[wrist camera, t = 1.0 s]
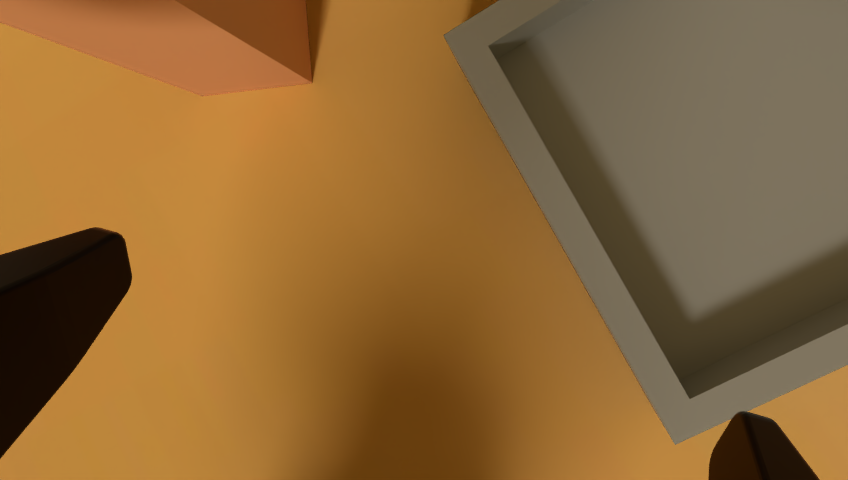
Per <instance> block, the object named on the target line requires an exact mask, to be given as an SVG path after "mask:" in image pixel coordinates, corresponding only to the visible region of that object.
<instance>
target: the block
mask: <svg viewBox="0 0 848 480" xmlns="http://www.w3.org/2000/svg"><path fill="white" fill-rule="evenodd" d="M0 23H3V24H6V25H9V26H11V27H14V28H17V29H20V30H22V31H25V32H28V33H31V34H33V35H36V36H39V37H41V38H44V39H47V40H50V41H52V42H55V43H58V44H61V45H63V46H66V47H69V48H72V49H74V50H77V51H80V52H83V53H85V54H88V55H91V56H94V57H96V58H99V59H102V60H105V61H107V62H110V63H113V64H116V65H118V66H121V67H124V68H126V69H129V70H132V71H135V72H137V73H140V74H143V75H146V76H148V77H151V78H154V79H157V80H159V81H162V82H165V83H168V84H170V85H173V86H176V87H179V88H181V89H184V90H187V91H190V92H192V93H195V94H198V95H201V96H208V95H216V94H224V93H233V92H241V91H249V90H257V89H266V88H274V87H282V86H291V85H299V84H307V83H312V73H311V60H310V48H309V35H308V22H307V9H306V0H0Z"/></svg>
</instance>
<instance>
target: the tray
mask: <svg viewBox="0 0 848 480" xmlns="http://www.w3.org/2000/svg"><path fill="white" fill-rule="evenodd" d="M444 37H445V39H446V41H447V43H448V45H449V47H450V49H451V51H452V53H453V55H454V57H455V59H456V60H457V62H458V64H459V66H460V68H461V69H462V71H463V73H464V75H465V76H466V78H467V80H468V82H469V83H470V85H471V87H472V89H473V91H474V92H475V94H476V96H477V98H478V99H479V101H480V103H481V105H482V106H483V108H484V110H485V112H486V113H487V115H488V117H489V119H490V121H491V122H492V124H493V126H494V128H495V129H496V131H497V133H498V135H499V136H500V138H501V140H502V142H503V144H504V145H505V147H506V149H507V151H508V152H509V154H510V156H511V158H512V159H513V161H514V163H515V165H516V167H517V168H518V170H519V172H520V174H521V175H522V177H523V179H524V181H525V182H526V184H527V186H528V188H529V189H530V191H531V193H532V195H533V197H534V198H535V200H536V202H537V204H538V205H539V207H540V209H541V211H542V212H543V214H544V216H545V218H546V220H547V221H548V223H549V225H550V227H551V228H552V230H553V232H554V234H555V235H556V237H557V239H558V241H559V242H560V244H561V246H562V248H563V250H564V251H565V253H566V255H567V257H568V258H569V260H570V262H571V264H572V265H573V267H574V269H575V271H576V273H577V274H578V276H579V278H580V280H581V281H582V283H583V285H584V287H585V288H586V290H587V292H588V294H589V296H590V297H591V299H592V301H593V303H594V304H595V306H596V308H597V310H598V311H599V313H600V315H601V317H602V318H603V320H604V322H605V324H606V326H607V327H608V329H609V331H610V333H611V334H612V336H613V338H614V340H615V341H616V343H617V345H618V347H619V349H620V350H621V352H622V354H623V356H624V357H625V359H626V361H627V363H628V364H629V366H630V368H631V370H632V372H633V373H634V375H635V377H636V379H637V380H638V382H639V384H640V386H641V387H642V389H643V391H644V393H645V394H646V396H647V398H648V400H649V402H650V403H651V405H652V407H653V409H654V410H655V412H656V414H657V416H658V417H659V419H660V420H661V422H662V424H663V425H664V427H665V429H666V430H667V432H668V434H669V435H670V437H671V439H672V440H673V442H674V444H675V445H676V444H678V443H680V442H682V441H684V440H686V439H689V438H691V437H693V436H695V435H697V434H699V433H702V432H704V431H706V430H708V429H710V428H712V427H714V426H717V425H719V424H721V423H723V422H725V421H727V420H730V419H732V418H733V416H734V415H735V414H736V413H738V412H740V411H746V412H747V411H749V410H751V409H753V408H755V407H758V406H760V405H762V404H764V403H766V402H768V401H771V400H773V399H775V398H777V397H779V396H781V395H783V394H786V393H788V392H790V391H792V390H794V389H796V388H799V387H801V386H803V385H805V384H807V383H809V382H811V381H814V380H816V379H818V378H820V377H822V376H824V375H827V374H829V373H831V372H833V371H835V370H837V369H840V368H842V367H844V366H846V365H848V0H499V1H497V2H496V3H494V4H492V5H491V6H489V7H488V8H486V9H484V10H483V11H481V12H480V13H478V14H476V15H475V16H473V17H472V18H470V19H468V20H467V21H465V22H464V23H462V24H460V25H459V26H457V27H456V28H454V29H452V30H451V31H449V32H448V33H446V34H444Z"/></svg>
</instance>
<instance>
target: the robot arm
mask: <svg viewBox="0 0 848 480" xmlns="http://www.w3.org/2000/svg"><path fill="white" fill-rule="evenodd" d="M131 281H132V273H131V268H130V262H129V257H128V252H127V247H126V242H125V239H124V238H123V237H122V235H120V234H119V233H117V232H113V231H110V230H106V229H103V228H97V227H94V228H89V229H86V230H83V231H79V232H76V233H73V234H69V235H66V236H62V237H59V238H56V239H52V240H49V241H46V242H42V243H39V244H35V245H32V246H29V247H25V248H22V249H19V250H15V251H12V252H9V253H5V254H2V255H0V458H1V457H2V456H3V455H4V454H5V452H6V451H7V450H8V449H9V448H10V446H11V445H12V444H13V443H14V442H15V440H16V439H17V438H18V437H19V436H20V434H21V433H22V432H23V431H24V430H25V428H26V427H27V426H28V425H29V424H30V423H31V421H32V420H33V419H34V418H35V417H36V415H37V414H38V413H39V412H40V411H41V409H42V408H43V407H44V406H45V405H46V403H47V402H48V401H49V400H50V399H51V397H52V396H53V395H54V394H55V393H56V391H57V390H58V389H59V388H60V387H61V385H62V384H63V383H64V382H65V381H66V379H67V378H68V377H69V376H70V374H71V373H72V372H73V371H74V369H75V368H76V366H77V365H78V364H79V362H80V361H81V359H82V358H83V357H84V355H85V354H86V352H87V351H88V349H89V348H90V346H91V345H92V343H93V342H94V340H95V339H96V338H97V336H98V335H99V333H100V332H101V330H102V329H103V327H104V326H105V324H106V323H107V321H108V320H109V318H110V317H111V315H112V314H113V312H114V311H115V309H116V308H117V307H118V305H119V304H120V302H121V301H122V299H123V298H124V296H125V295H126V293H127V292H128V290H129V287H130V285H131ZM709 480H819V478H818V477H817V476H816V474H815V473H814V472H813V470H812V469H811V468H810V466H809V465H808V464H807V462H806V461H805V460H804V459H803V457H802V456H801V455H800V453H799V452H798V451H797V449H796V448H795V447H794V445H793V444H792V443H791V441H790V440H789V439H788V437H787V436H786V435H785V433H784V432H783V431H782V430H781V428H780V427H779V426H778V424H777V423H776V422H775V421H773V420H772V419H770V418H767V417H764V416H760V415H757V414H753V413H750V412H746V411H740V412H738V413H736V414H735V415H734V416H733V418H732V419H731V421H730V423H729V424H728V426H727V428H726V429H725V431H724V432H723V434H722V436H721V437H720V439H719V441H718V442H717V444H716V445H715V447H714V449H713V452H712V454H711V458H710V464H709Z"/></svg>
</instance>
